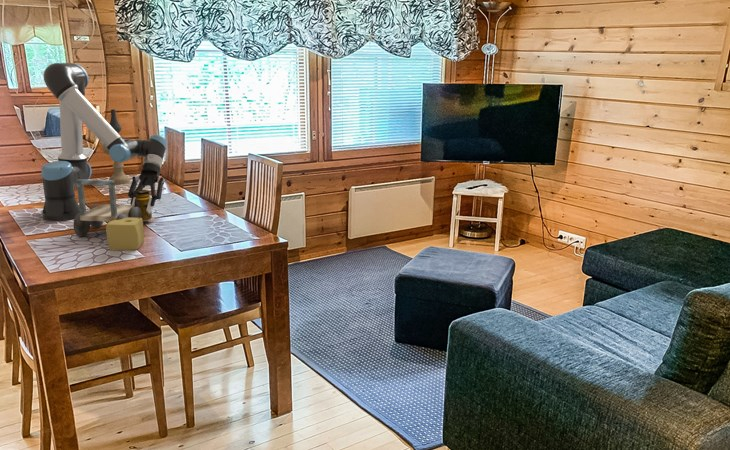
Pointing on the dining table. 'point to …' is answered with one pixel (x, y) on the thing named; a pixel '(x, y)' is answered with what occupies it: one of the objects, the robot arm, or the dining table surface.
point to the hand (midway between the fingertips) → (140, 212)
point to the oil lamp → (118, 166)
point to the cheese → (125, 234)
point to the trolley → (100, 209)
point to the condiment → (143, 203)
